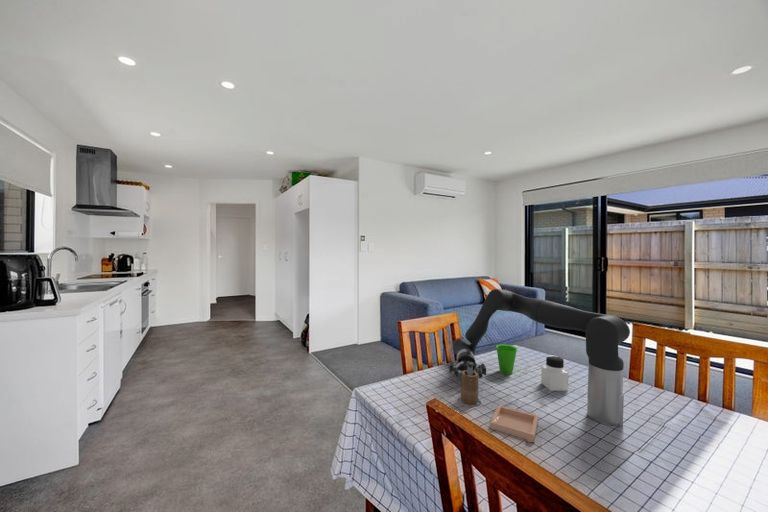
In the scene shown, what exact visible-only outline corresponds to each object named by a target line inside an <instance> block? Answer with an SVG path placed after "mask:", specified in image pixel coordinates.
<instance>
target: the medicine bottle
mask: <svg viewBox="0 0 768 512" xmlns="http://www.w3.org/2000/svg"><path fill="white" fill-rule="evenodd" d="M545 361H546V362H545V365H541V368H540V369H541V372H540V374H541V375H540V379H541V380H540V383H541V384H542V385H543V386H544V387H545V388H546V389H547V390H548V391H550V392H551V391H552V392H553V391H554V392H555V391H558V392H561V391H562V392H568V391H569V372H567V371H566V370H565V369H564V367H565V366H564V359H563V358H562V357H560V356H557V355H547V356H546V358H545Z"/></svg>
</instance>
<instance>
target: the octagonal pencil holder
mask: <svg viewBox="0 0 768 512" xmlns="http://www.w3.org/2000/svg"><path fill="white" fill-rule="evenodd" d="M460 374H461V377H460V378H461V380H460V381H461V383H460V388H461V390H460V391H461V392H460V397H461V401H462V402H463V403H464V404H468V405H476V404H477V403H478V399H479V377H478V375H479V374H478V373H477V372H475V370H474V371H473V376H469V375H467V370H465V371H463V372H461V373H460Z"/></svg>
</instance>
